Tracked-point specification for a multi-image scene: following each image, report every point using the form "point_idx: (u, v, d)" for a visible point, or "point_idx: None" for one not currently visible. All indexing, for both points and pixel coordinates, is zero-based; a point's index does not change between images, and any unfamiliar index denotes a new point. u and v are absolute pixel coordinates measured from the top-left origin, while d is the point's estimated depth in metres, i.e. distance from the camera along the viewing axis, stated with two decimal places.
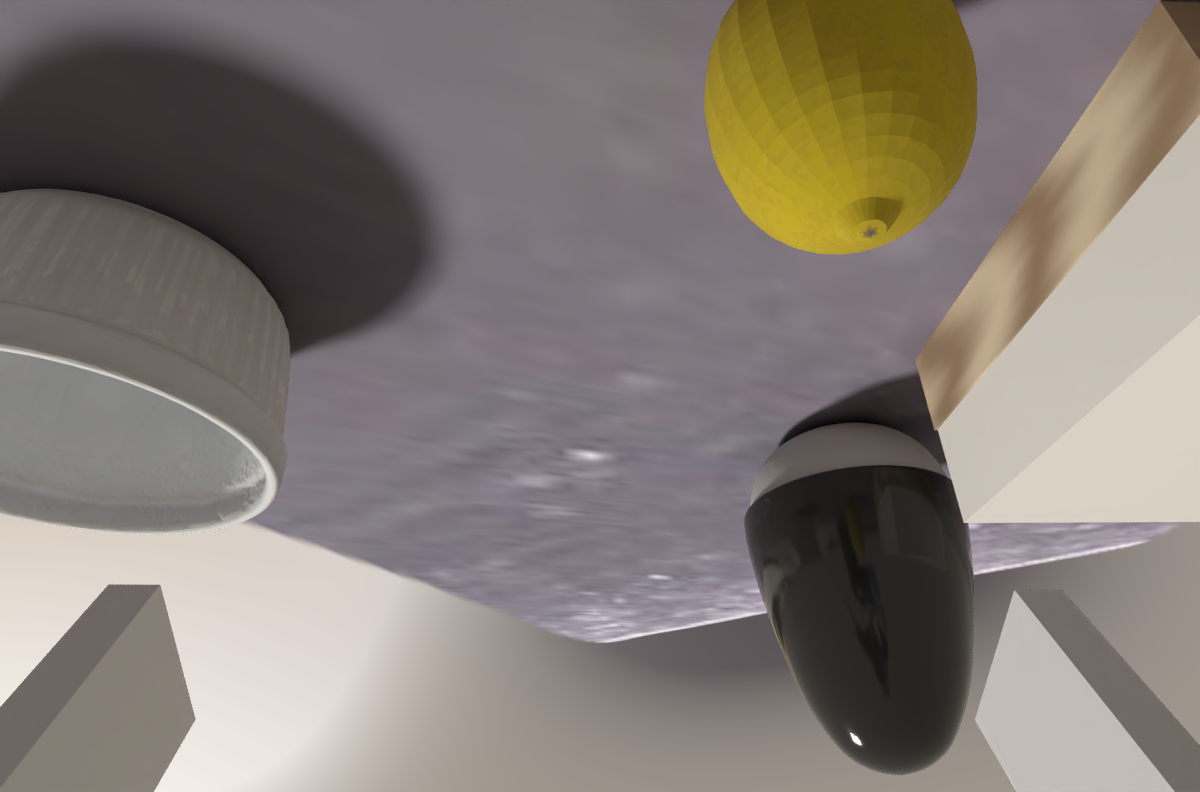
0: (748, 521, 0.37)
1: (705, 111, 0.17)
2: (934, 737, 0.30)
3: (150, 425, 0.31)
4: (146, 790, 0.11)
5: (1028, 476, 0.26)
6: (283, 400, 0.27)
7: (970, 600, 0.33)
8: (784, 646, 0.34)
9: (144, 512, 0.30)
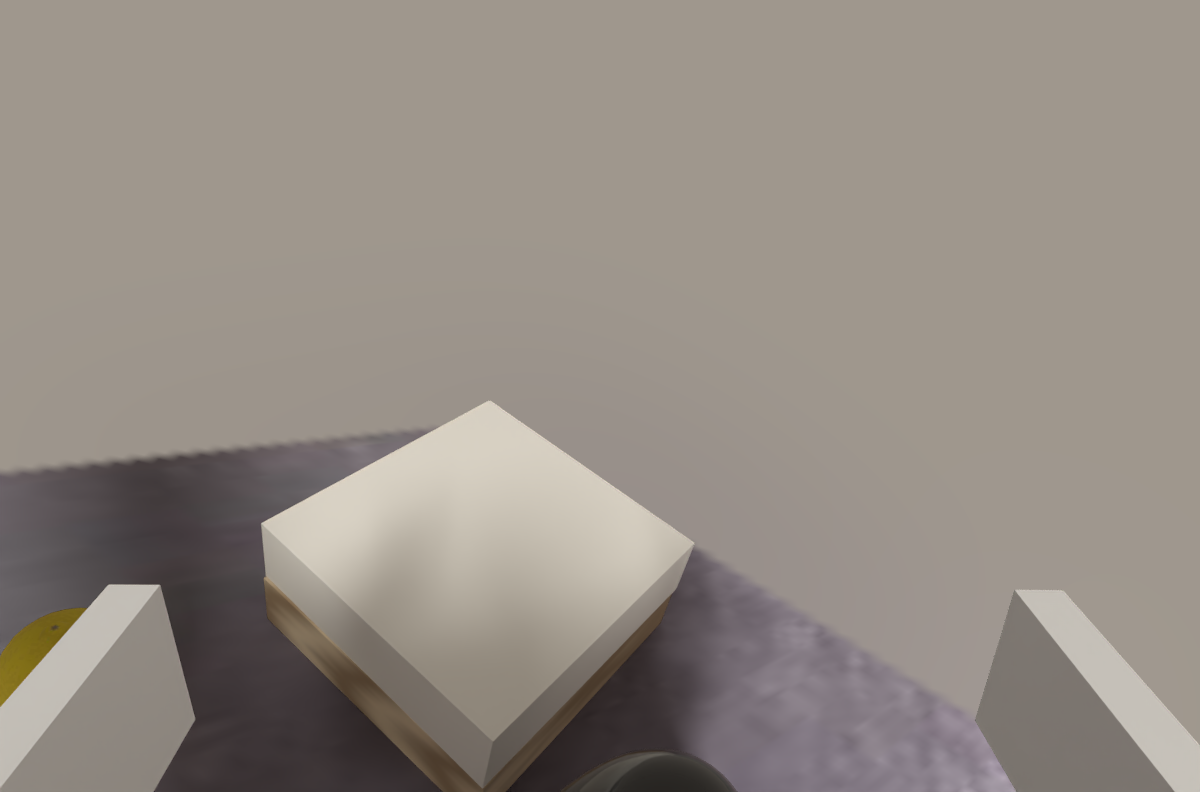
0: None
1: None
2: (639, 758, 0.25)
3: None
4: (146, 790, 0.11)
5: (434, 673, 0.34)
6: None
7: None
8: None
9: None
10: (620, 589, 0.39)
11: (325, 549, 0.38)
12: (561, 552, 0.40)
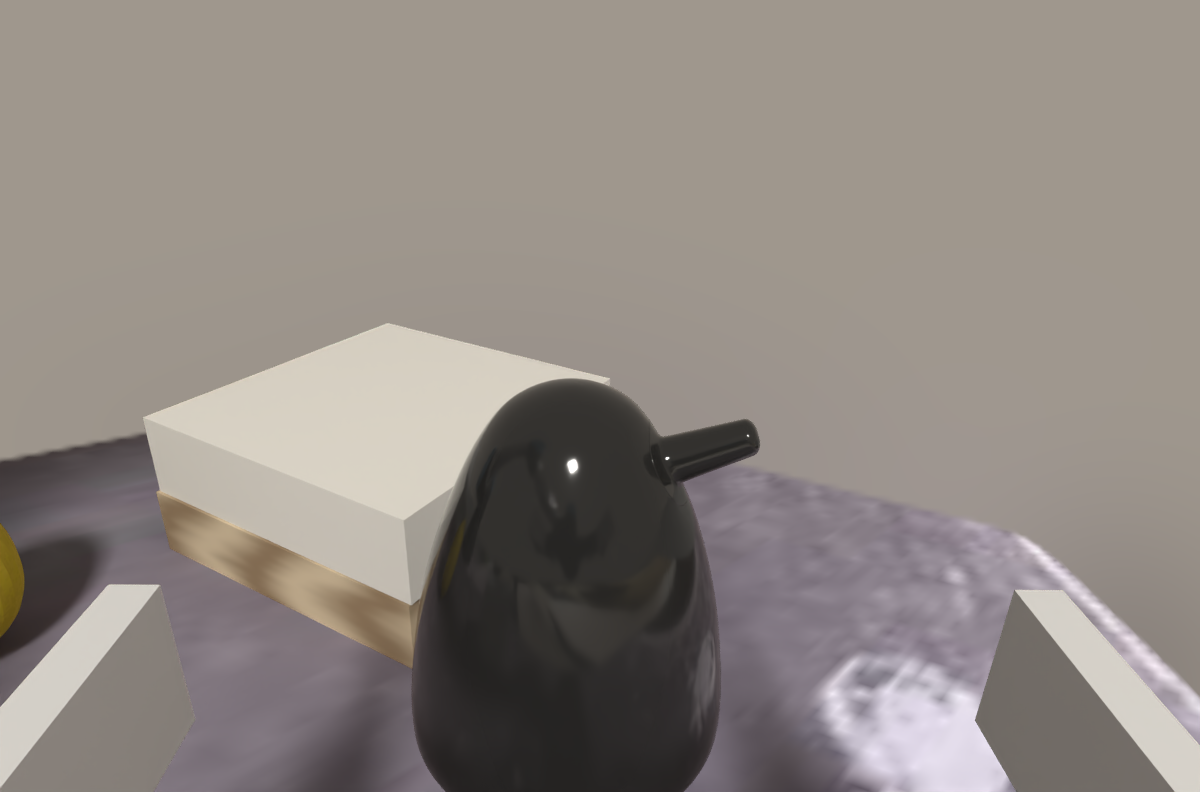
0: None
1: None
2: None
3: None
4: (146, 790, 0.11)
5: (335, 485, 0.31)
6: None
7: None
8: (494, 622, 0.20)
9: None
10: None
11: (213, 424, 0.35)
12: (469, 398, 0.39)
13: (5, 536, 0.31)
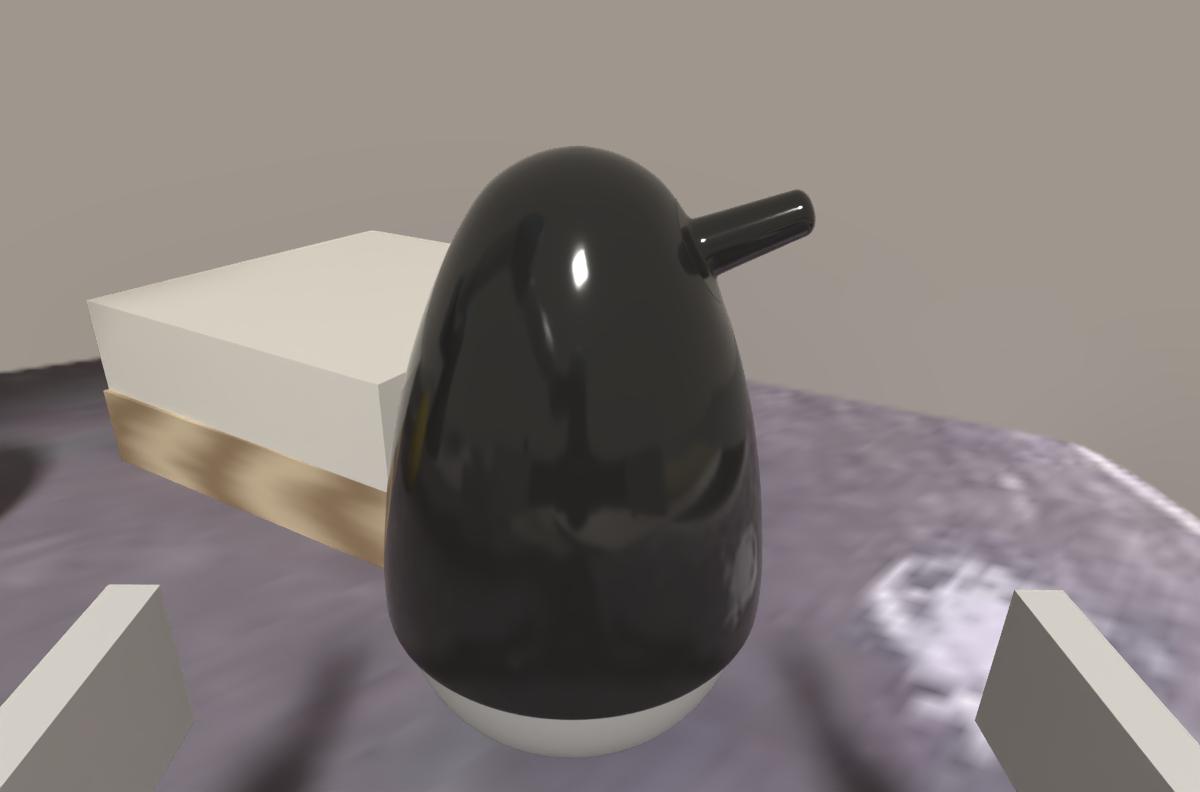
0: (451, 672, 0.17)
1: None
2: None
3: None
4: (146, 790, 0.11)
5: (300, 355, 0.26)
6: None
7: None
8: (481, 431, 0.16)
9: None
10: None
11: (166, 306, 0.31)
12: None
13: None
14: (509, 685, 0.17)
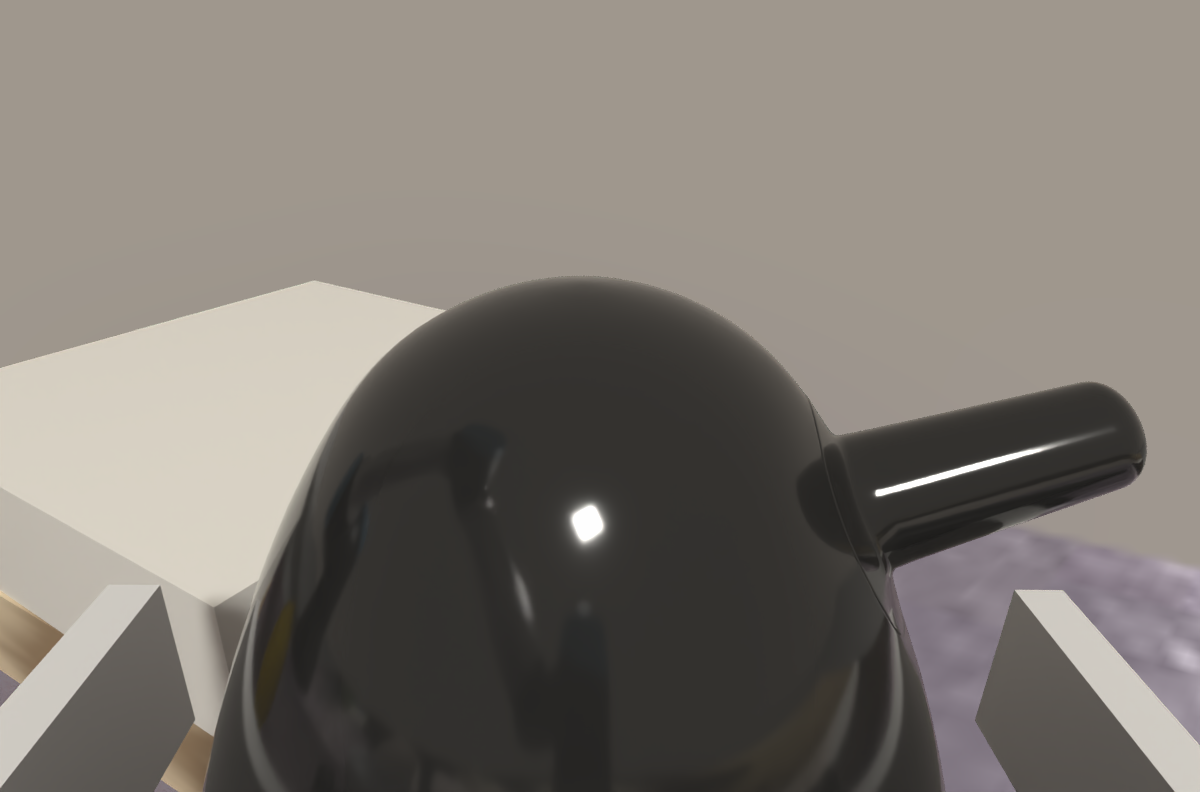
0: None
1: None
2: None
3: None
4: (146, 790, 0.11)
5: (114, 531, 0.17)
6: None
7: None
8: None
9: None
10: None
11: None
12: None
13: None
14: None
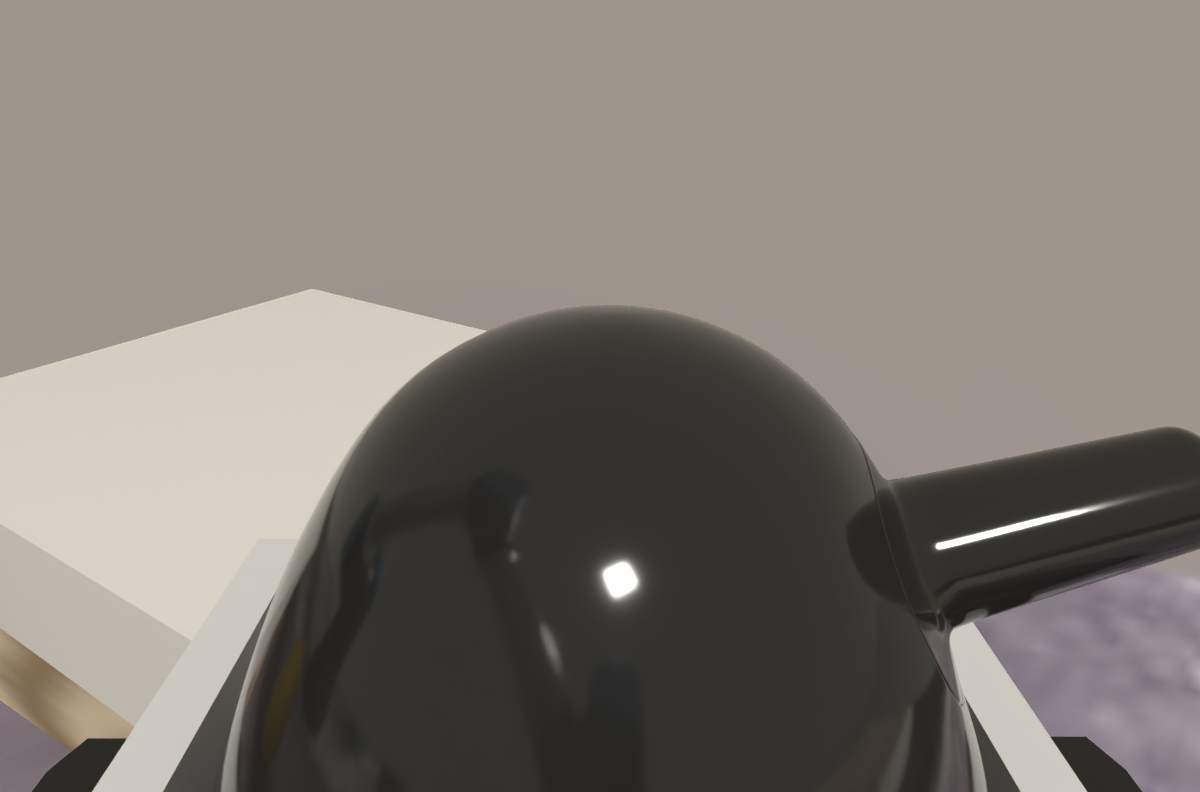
0: None
1: None
2: None
3: None
4: None
5: (101, 561, 0.16)
6: None
7: None
8: None
9: None
10: None
11: None
12: None
13: None
14: None
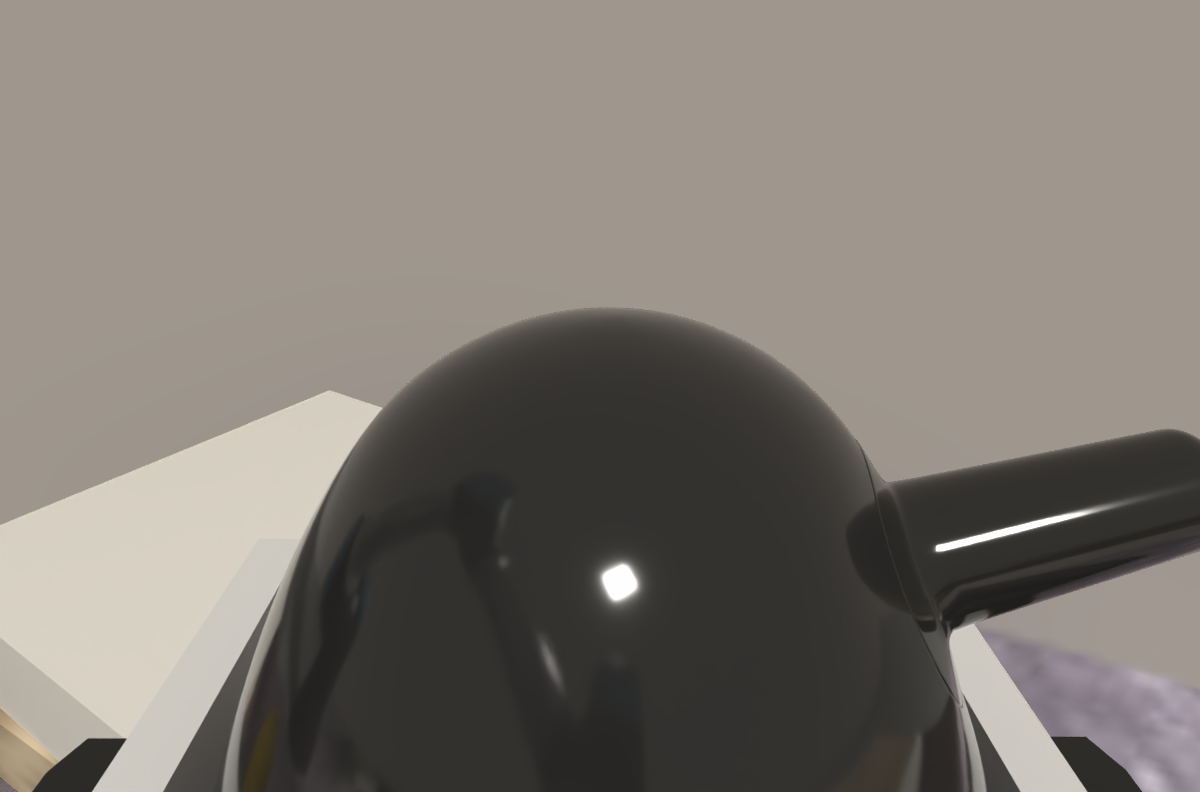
0: None
1: None
2: None
3: None
4: None
5: None
6: None
7: None
8: None
9: None
10: None
11: (6, 578, 0.23)
12: None
13: None
14: None
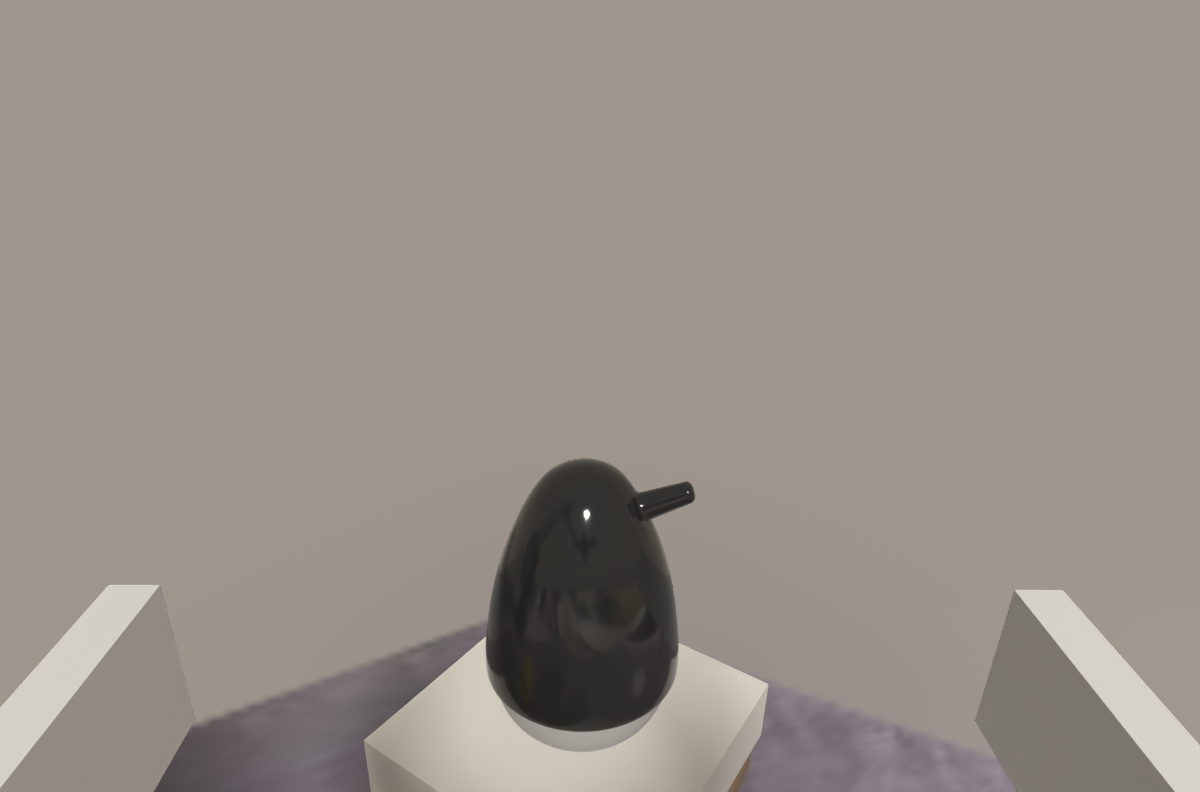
0: (526, 710, 0.37)
1: None
2: None
3: None
4: (146, 790, 0.11)
5: None
6: None
7: None
8: (544, 602, 0.35)
9: None
10: (709, 743, 0.41)
11: (427, 754, 0.40)
12: None
13: None
14: (555, 716, 0.36)
